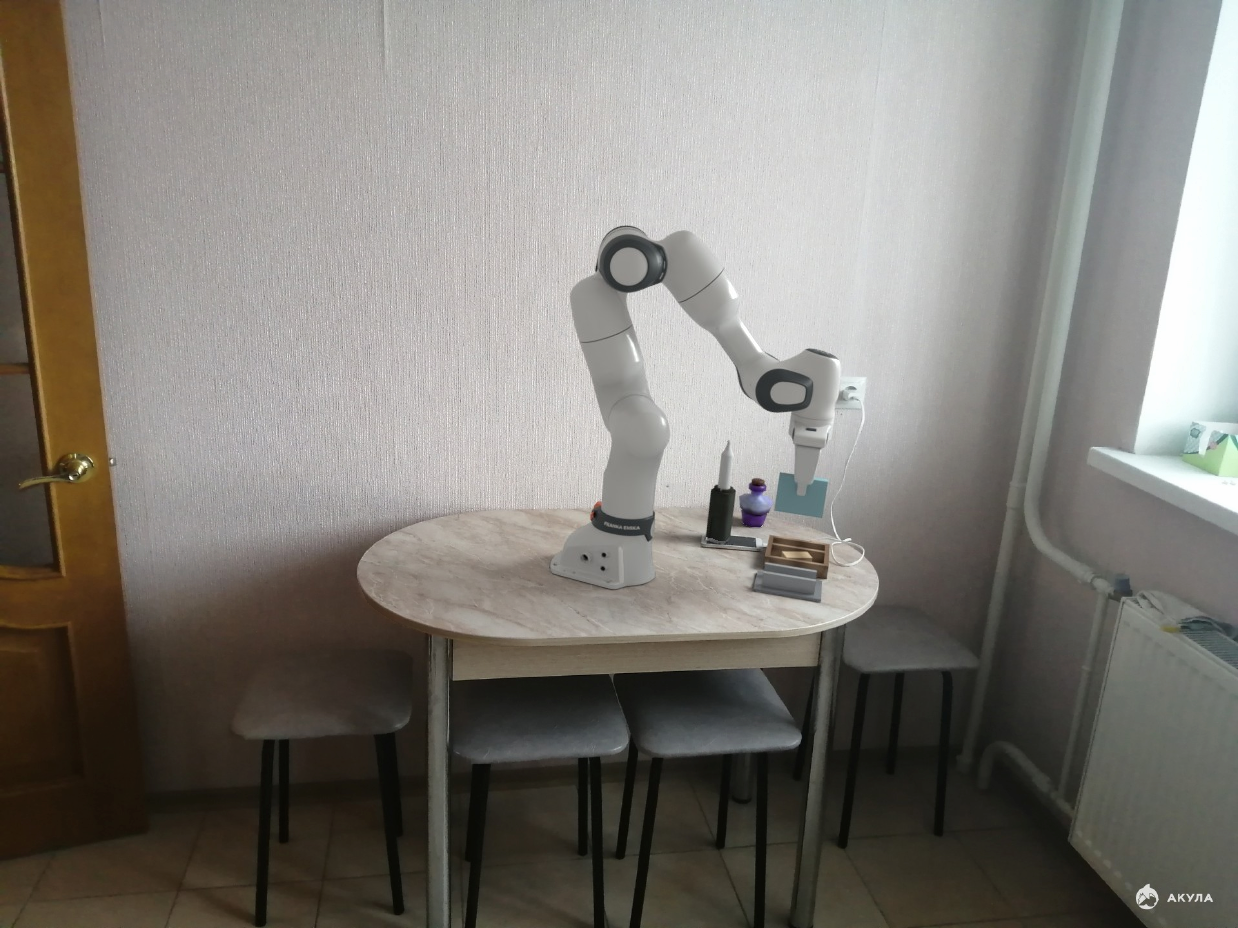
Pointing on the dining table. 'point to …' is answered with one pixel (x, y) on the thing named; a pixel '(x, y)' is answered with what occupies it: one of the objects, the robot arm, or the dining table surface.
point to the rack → (815, 550)
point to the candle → (722, 500)
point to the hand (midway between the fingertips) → (801, 492)
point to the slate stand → (789, 582)
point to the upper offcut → (797, 555)
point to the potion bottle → (755, 504)
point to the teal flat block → (799, 504)
